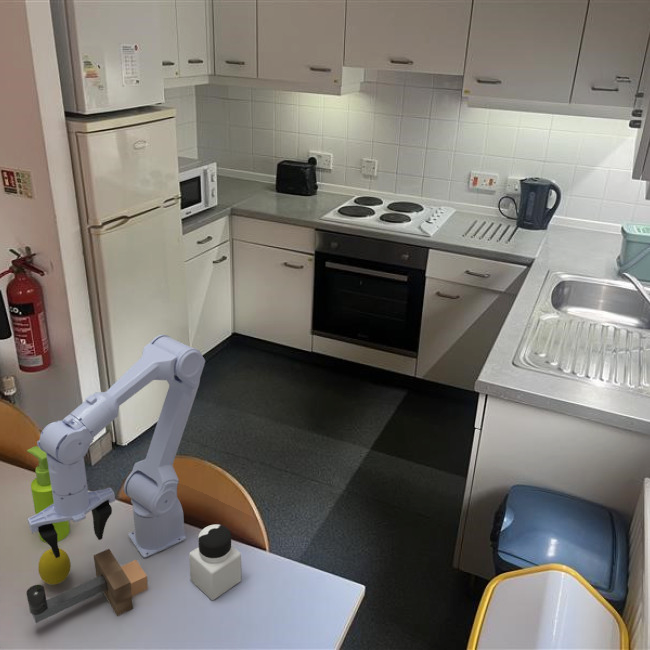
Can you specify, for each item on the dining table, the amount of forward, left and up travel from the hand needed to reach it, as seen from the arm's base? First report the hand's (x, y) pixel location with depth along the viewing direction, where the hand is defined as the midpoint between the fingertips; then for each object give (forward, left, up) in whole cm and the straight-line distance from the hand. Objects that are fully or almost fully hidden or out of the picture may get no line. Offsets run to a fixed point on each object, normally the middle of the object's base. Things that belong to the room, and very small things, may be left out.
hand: (77, 545), depth 116 cm
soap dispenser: (0, -18, -11) cm, 21 cm away
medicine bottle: (-21, +13, -11) cm, 27 cm away
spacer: (-7, +5, -10) cm, 14 cm away
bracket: (-4, +5, -10) cm, 12 cm away
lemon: (+4, -4, -11) cm, 12 cm away
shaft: (+3, +5, -7) cm, 9 cm away
